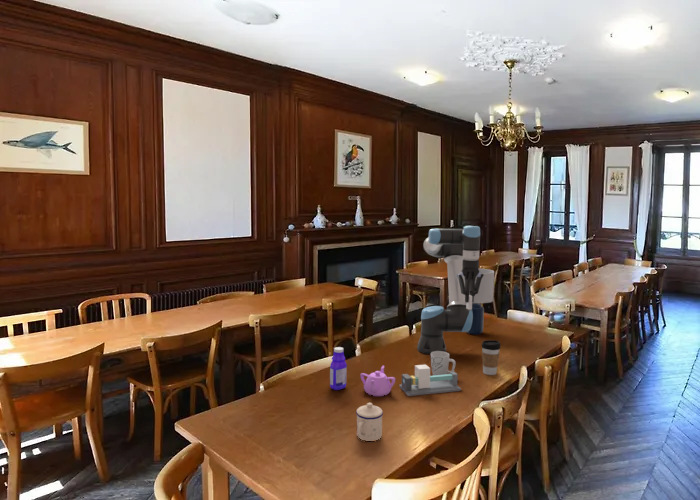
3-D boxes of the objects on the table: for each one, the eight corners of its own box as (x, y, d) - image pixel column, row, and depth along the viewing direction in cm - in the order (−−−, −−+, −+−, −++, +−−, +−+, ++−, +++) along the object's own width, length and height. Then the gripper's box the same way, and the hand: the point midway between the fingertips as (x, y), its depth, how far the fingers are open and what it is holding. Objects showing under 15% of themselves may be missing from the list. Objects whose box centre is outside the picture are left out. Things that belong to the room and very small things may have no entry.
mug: (457, 374, 221) (457, 353, 220) (452, 380, 213) (453, 359, 212) (432, 370, 226) (433, 350, 225) (428, 376, 218) (428, 355, 217)
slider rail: (399, 386, 206) (399, 372, 205) (450, 381, 212) (450, 367, 211) (407, 396, 196) (408, 380, 196) (461, 390, 202) (461, 376, 202)
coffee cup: (500, 376, 218) (501, 345, 217) (481, 375, 220) (482, 343, 218) (498, 370, 227) (499, 339, 225) (479, 368, 228) (481, 338, 227)
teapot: (383, 384, 209) (383, 364, 208) (397, 396, 196) (398, 375, 195) (358, 387, 205) (358, 367, 204) (371, 400, 192) (371, 379, 191)
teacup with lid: (364, 427, 170) (364, 395, 168) (387, 434, 165) (387, 401, 164) (346, 441, 159) (346, 408, 158) (370, 449, 155) (370, 415, 153)
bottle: (339, 383, 209) (340, 345, 207) (348, 387, 205) (349, 348, 203) (327, 388, 204) (327, 348, 202) (336, 392, 200) (336, 351, 198)
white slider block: (414, 384, 205) (414, 365, 204) (425, 383, 206) (425, 364, 205) (418, 388, 200) (419, 369, 199) (429, 387, 201) (430, 368, 200)
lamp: (495, 337, 279) (498, 272, 275) (460, 337, 280) (463, 271, 275) (486, 328, 299) (488, 267, 295) (453, 328, 300) (456, 266, 295)
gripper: (461, 260, 217) (460, 311, 220) (487, 260, 220) (485, 310, 223) (454, 258, 224) (452, 307, 227) (479, 257, 227) (477, 306, 230)
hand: (468, 308), depth 225 cm, fingers closed
